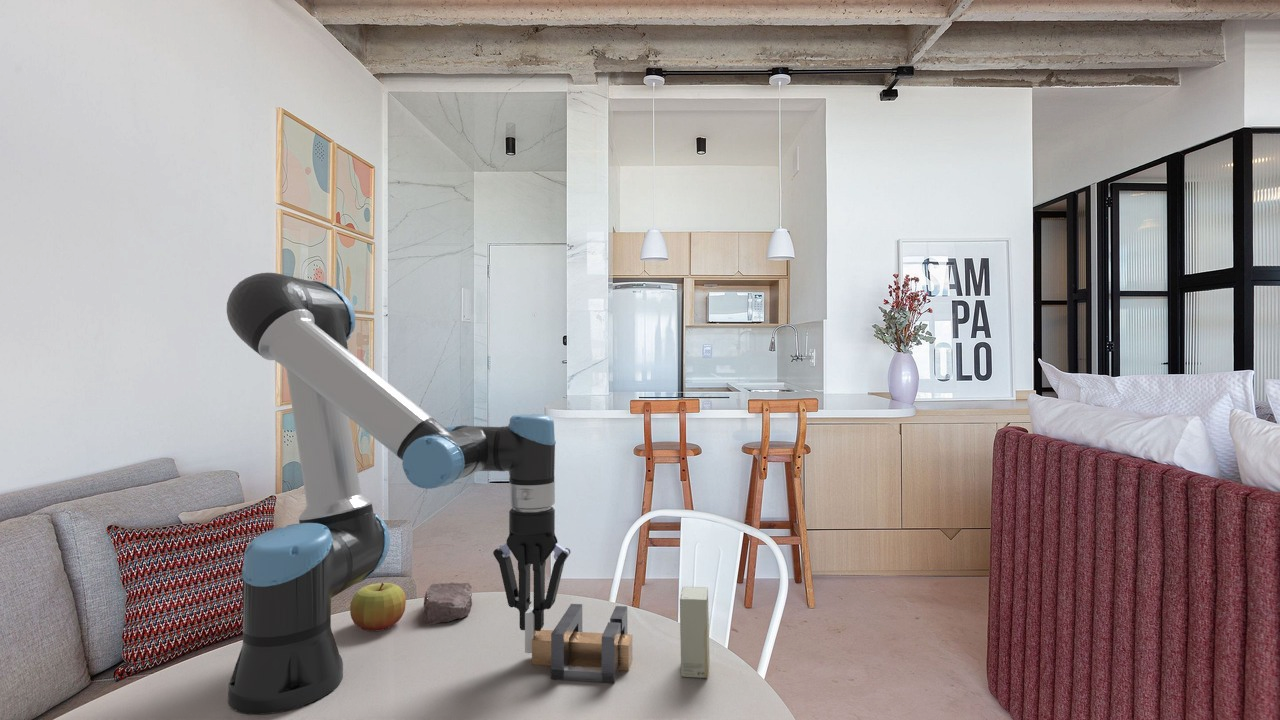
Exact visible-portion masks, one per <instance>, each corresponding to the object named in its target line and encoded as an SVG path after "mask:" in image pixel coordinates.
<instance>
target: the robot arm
mask: <svg viewBox="0 0 1280 720" xmlns="http://www.w3.org/2000/svg"><path fill="white" fill-rule="evenodd" d="M226 315H227V316H226V317H227V320H228V322H229V325H230V326H231V328H232V330H233V331H234V333H235V334H236V335H237V336H238V338H239V339H240V340H241V341H242V342H244V343H245V344H246V345H247V346H248V347H249V348H251V349H252V350H253V351H254V352H255V353H257V354H258V355H260V357H261V358H262V359H264V360H267V361H275V362H276V363H278V364H279V365H280V366H282V367H284V368H285V370H286V376H287V382H288V388H289V396H290V402H291V409H292V415H293V423H294V428H295V429H294V430H295V435H296V441H297V448H298V454H299V462H300V468H301V475H302V481H303V486H304V487H303V488H304V494H305V501H306V502H305V503H306V506H305V508H304V510H303V511H302V512H301V513H300V515H299V516H298V523H294V524H289V525H286V526H285V527H276V528H274V529H271V530H269V531H265V532H263V533H261V534H260V535H257V536H256V537H255V538H253V539H252V540H251V541H250V542H249V543H248V544H247V546H246V548H245V550H244V554H243V565H242V567H241V578H242V646H241V649H240V651H239V654H238V657H237V660H236V662H235V665H234V668H233V672H232V675H231V678H230V679H229V682H228V686H227V705H228V706H229V707H230V709H232V710H233V711H236V712H239V713H242V714H250V715H265V714H272V713H280V712H285V711H289V710H293V709H297V708H299V707H302V706H305V705H308V704H310V703H313V702H316V701H317V700H320V699H321V698H323V697H325V696H327V695H328V694H330V693H331V692H332V691H334V690H335V689H337V687H338V686H339V685H340V684H341V683H342V681H343V678H344V662H343V658H342V656H341V653H340V651H339V649H338V646H337V642H336V640H335V637H334V634H333V631H332V622H331V621H332V619H331V618H332V617H331V615H332V599H333V597H335V596H338V595H339V594H341V593H343V592H344V591H346V590H347V589H350V587H352V586H354V585H357V584H359V583H361V582H362V581H363V582H364V580H366V579H368V578H369V577H370V576H371V575H372V574H373V573H374V572H376V571H377V570H378V569H379V568H380V567H381V566H382V565H383V563H384V562H385V561H386V558H387V557H388V553H389V550H390V544H391V539H390V537H391V536H390V532H389V528H388V525H387V524H386V522H385V521H384V519H381V518H380V517H379V515H378V514H377V513H375V512H374V507H373V503H372V500H371V499H369V498H367V497H366V496H365V495H363V494H362V492H361V486H360V480H359V474H358V467H357V460H356V454H355V453H356V452H355V447H354V441H353V433H352V426H351V422H350V421H351V420H352V421H353V422H354V423H355V424H356V425H358V426H359V427H360V428H362V430H364V431H365V432H366V433H368V434H369V435H370V436H372V437H373V438H374V440H376V441H378V442H379V443H380V444H381V445H383V446H384V447H385V448H386V449H388V450H389V451H390V452H391V453H393V454H394V455H395V456H397V458H399V459H400V460H401V461H402V464H401V465H402V470H403V472H404V475H405V476H406V478H407V480H408V481H409V482H410V483H411V484H413V485H414V486H416V487H418V488H421V489H426V490H428V489H429V490H430V489H437V488H441V487H446V486H449V485H451V484H453V483H454V482H455V481H457V480H459V479H462V478H465V477H468V476H470V475H472V474H475V473H477V472H508V475H509V479H508V482H509V486H508V487H509V491H508V493H509V494H508V496H509V498H508V499H509V500H508V501H509V502H508V503H509V506H510V507H511V508H510V510H509V511H508V514H509V515H508V517H509V519H508V531H509V534H508V537H507V539H506V543H504V544H502V545H500V546H498V547H497V548H495V549H494V550H493V552H492V554H493V556H494V558H495V560H496V561H497V563H498V565H499V570H500V574H501V579H502V583H503V587H504V591H505V595H506V599H507V604H508V607H510V608H515V609H517V610H518V612H519V629H520V631H524V653H526V654H532V639H533V638H534V637H535V635H536V634H537V632H538V631H541V630H543V628H544V626H545V610H551V608H552V606H553V605H554V604H555V602H556V599H557V594H558V590H559V586H560V582H561V580H562V579H561V578H562V574H563V570H564V566H565V562H566V561H567V559H568V557H569V556H570V554H571V549H570V548H568V547H566V548H564V547H563V546H562V545H561V544H559V543H558V538H557V536H556V534H555V529H556V527H555V521H556V519H555V518H556V515H555V513H556V510H555V508H554V507H553V506H554V505H555V503H556V498H555V497H556V493H555V491H556V490H555V489H556V487H555V486H556V485H555V484H556V483H555V482H556V481H555V463H556V461H555V460H556V457H555V456H556V439H555V438H556V437H555V435H556V434H555V421H554V419H553V418H552V416H550V415H548V414H540V413H539V414H537V413H535V414H534V413H533V414H532V413H531V414H515V415H512V416H511V417H510V418H509V423H508V425H505V426H482V425H480V426H479V425H467V424H461V425H456V426H446V427H445V426H444V425H442V424H441V423H440V422H438V421H437V420H436V419H434V418H433V416H431V415H430V414H429V413H427V412H426V410H424V409H422V408H421V407H419V405H417V404H416V403H415V402H414V401H412V400H411V399H410V398H409V397H407V396H406V395H405V394H403V393H402V392H401V391H400V390H398V389H397V388H396V387H394V385H392V384H391V383H390V382H388V381H387V380H386V379H385V378H383V377H382V376H381V375H379V374H378V373H377V372H376V371H374V370H373V369H372V368H371V367H370V366H368V365H367V364H366V363H364V362H363V361H362V360H361V359H359V358H358V357H357V356H356V355H354V354H353V353H352V352H351V351H350V350H349V347H348V340H349V339H350V338H351V334H352V333H353V332H354V331H355V328H356V322H357V321H356V313H355V309H354V307H353V305H352V302H351V300H350V299H349V298H348V297H347V296H346V295H345V294H344V293H343V292H342V291H341V290H339V289H337V288H335V287H333V286H330V285H328V284H327V283H324V282H320V281H316V280H307V279H302V278H299V277H298V278H297V277H294V276H289V275H285V274H283V273H282V274H281V273H278V272H261V273H255V274H253V275H251V276H248V277H245V278H244V279H242V280H241V281H239V282H238V283H237V284H236V285H235V286H234V287H233V288H232V291H231V292H230V294H229V296H228V299H227V301H226ZM511 553H512V555H513V556H514V558H515V560H516V561H517V570H518V583H517V578H516V575H515V571H514V566H513V562H512V561H513V560H512V558H511ZM552 553H554V554H553V558H554V560H555V562H554V564H553V567H552V569H551V575H550V579H549V582H548V583H549V584H548V587H547V591H546V588H545V587H546V565H547V559H548V558H549V557H550V555H551V554H552ZM531 566H532V571H533V606H530V605H531V604H532V601H531Z"/></svg>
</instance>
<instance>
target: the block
mask: <svg viewBox="0 0 1280 720" xmlns="http://www.w3.org/2000/svg"><path fill="white" fill-rule="evenodd" d="M553 630H554V629H552V630H551V629H541V631H538V632H537V634H536V635H535V637H534V638H533V639H532V653H531V665H534V666H547V667H548V666H550V667H551V633H552V632H553ZM603 633H604V632H590V631H589V632H588V631H582V632H573V633H572V634H571V636H570V638H569V666H581V667H596V668H602V635H603ZM632 661H633V634H627V635H626V634H621V635H620V638H619V640H618V671H630V669H631V665H632Z"/></svg>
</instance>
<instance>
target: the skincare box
mask: <svg viewBox="0 0 1280 720" xmlns="http://www.w3.org/2000/svg"><path fill="white" fill-rule="evenodd" d="M680 591H681V592H680V596H679V626H680V627H679V629H680V634H679V635H680V638H679V639H680V677H684V678H685V677H686V678H697V679H698V678H699V679H700V678H701V679H708V678H709V673H710V672H709V670H710V661H711V659H710V623H709V621H710V619H709V617H710V616H709V613H710V612H709V587H706V586H705V587H702V586H701V587H700V586H699V587H698V586H682V588H681V590H680Z"/></svg>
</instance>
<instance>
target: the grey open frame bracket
mask: <svg viewBox="0 0 1280 720" xmlns="http://www.w3.org/2000/svg"><path fill="white" fill-rule="evenodd" d="M552 630H553V632H552V633H551V666H550V668H551V669H550V670H551V671H550V674H551V675H550V676H551V677H550V678H551V680H561V681H574V682H575V681H576V682H591V683H601V684H602V683H605V684H606V683H607V684H616V680H617V678H618V675H619V670H618V640H619V638H620V635H621V634H626V635H628V606H624V605H615V608H614V609H613V611H612V614H611V615H610V618H609V621H608V622H607V625H606V627H605V629H604V631H603V632H602V633H603V635H602V668H596V667H581V666H569V638H570V636H571V634H572V633H573V632H583V603H570V605H569V606H568V608H567V609H566V610H565V612H564V613H563V615H562V617H561V618H560V620H559V621H558V623H557V624H556V626H555V628H554V629H552Z"/></svg>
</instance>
